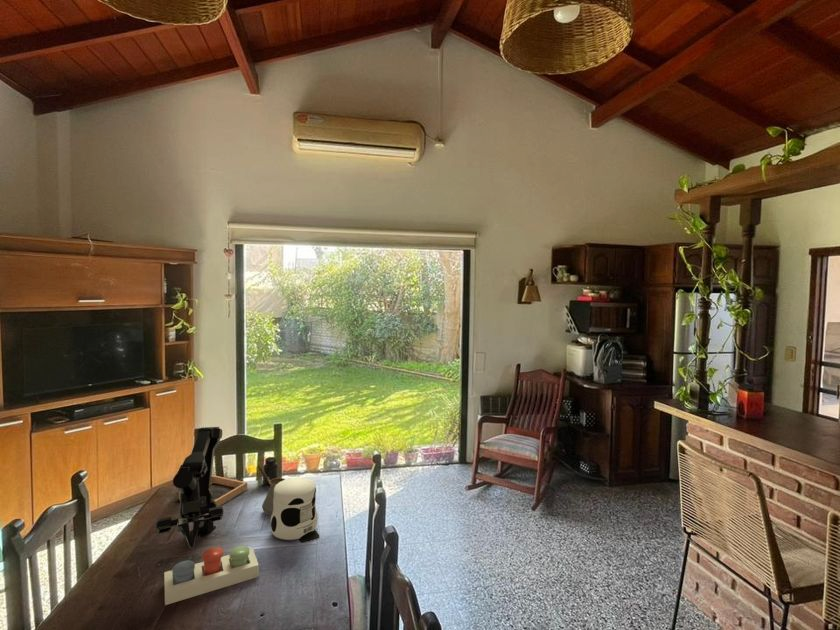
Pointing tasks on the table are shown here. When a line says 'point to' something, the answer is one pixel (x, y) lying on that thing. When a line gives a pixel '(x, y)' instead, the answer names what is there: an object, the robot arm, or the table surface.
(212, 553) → the red button
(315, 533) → the phone
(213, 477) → the square wooden frame
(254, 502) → the table surface
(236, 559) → the sage green button
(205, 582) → the button console
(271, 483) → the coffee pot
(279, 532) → the milk container
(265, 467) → the supplement bottle
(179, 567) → the slate blue button
